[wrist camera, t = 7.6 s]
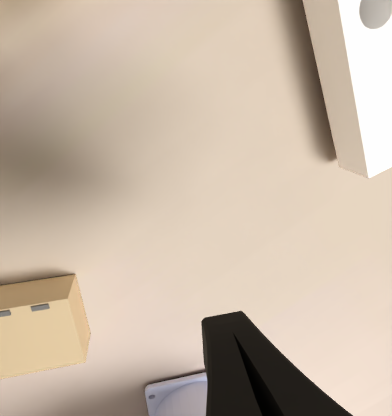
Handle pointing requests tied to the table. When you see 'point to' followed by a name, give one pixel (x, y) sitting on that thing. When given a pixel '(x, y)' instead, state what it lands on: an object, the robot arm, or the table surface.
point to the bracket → (355, 78)
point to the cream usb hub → (42, 326)
